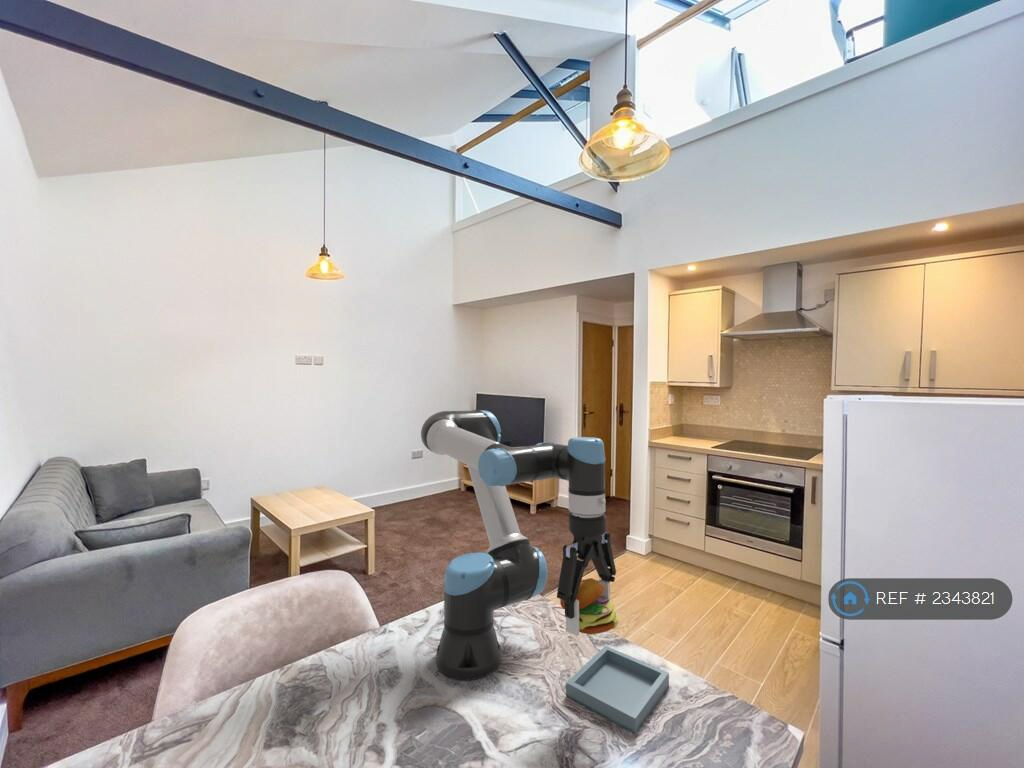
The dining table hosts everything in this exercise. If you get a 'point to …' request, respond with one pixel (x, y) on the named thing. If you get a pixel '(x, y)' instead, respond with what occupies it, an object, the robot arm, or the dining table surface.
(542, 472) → the robot arm
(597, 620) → the cheeseburger
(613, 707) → the bin
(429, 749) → the dining table surface
